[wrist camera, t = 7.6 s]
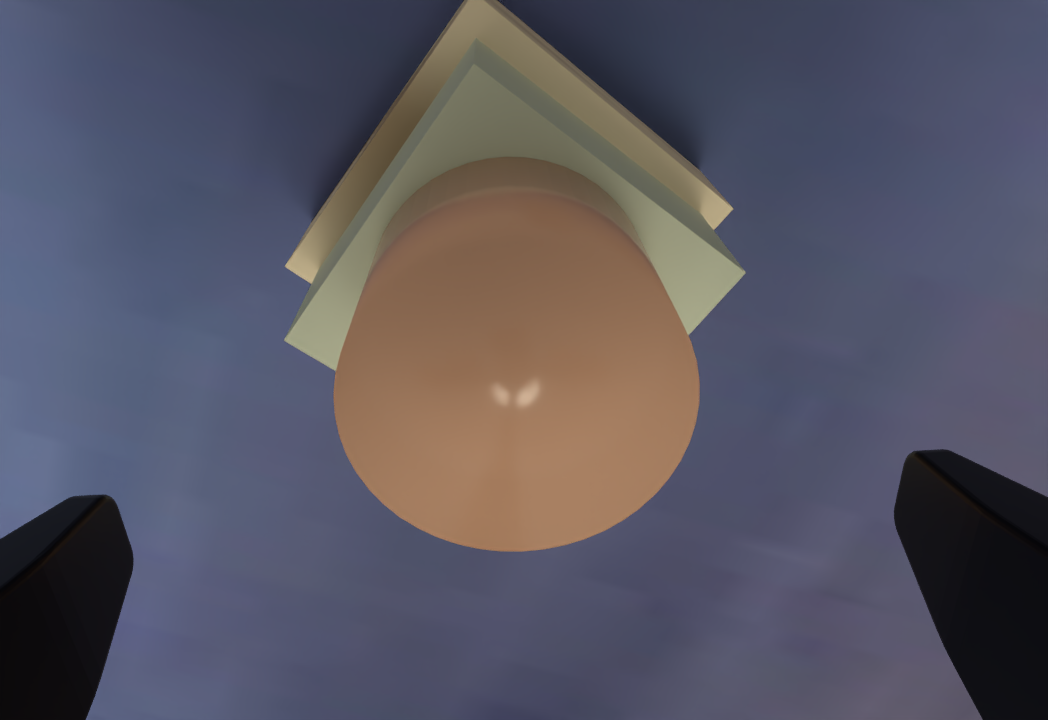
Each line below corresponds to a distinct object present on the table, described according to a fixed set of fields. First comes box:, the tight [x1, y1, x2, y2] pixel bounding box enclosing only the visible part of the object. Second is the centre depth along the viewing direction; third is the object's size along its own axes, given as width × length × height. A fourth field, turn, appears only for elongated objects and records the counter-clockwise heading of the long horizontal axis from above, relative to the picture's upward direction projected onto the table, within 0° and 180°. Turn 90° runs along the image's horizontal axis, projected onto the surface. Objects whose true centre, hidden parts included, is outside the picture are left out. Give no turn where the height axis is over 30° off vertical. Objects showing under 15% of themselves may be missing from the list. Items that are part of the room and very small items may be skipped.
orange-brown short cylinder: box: [334, 157, 700, 551], centre depth 13 cm, size 5×5×4 cm
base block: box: [285, 0, 733, 284], centre depth 20 cm, size 7×7×4 cm
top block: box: [284, 38, 746, 371], centre depth 16 cm, size 6×6×4 cm
